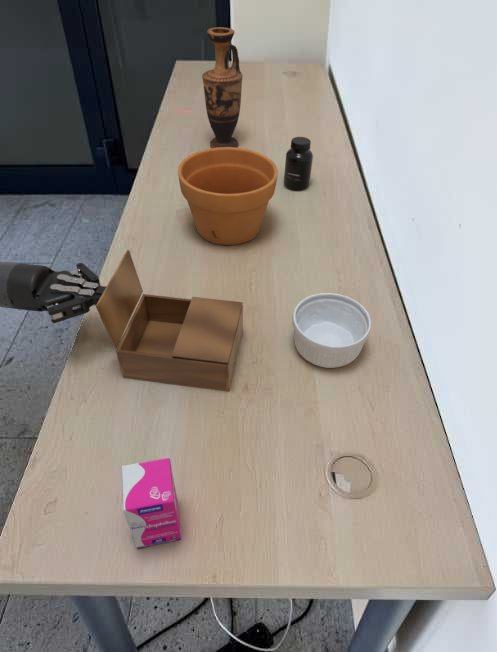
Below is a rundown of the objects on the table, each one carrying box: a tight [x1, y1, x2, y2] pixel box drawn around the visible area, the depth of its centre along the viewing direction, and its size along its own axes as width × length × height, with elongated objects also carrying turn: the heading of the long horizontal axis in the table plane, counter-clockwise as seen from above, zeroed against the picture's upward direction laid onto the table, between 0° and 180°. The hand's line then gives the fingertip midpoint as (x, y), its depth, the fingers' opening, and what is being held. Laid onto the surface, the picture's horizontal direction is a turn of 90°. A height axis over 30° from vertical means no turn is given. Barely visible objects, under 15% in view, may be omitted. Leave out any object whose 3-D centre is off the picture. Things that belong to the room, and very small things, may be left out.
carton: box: [115, 293, 244, 392], centre depth 82 cm, size 14×18×7 cm
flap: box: [95, 249, 144, 349], centre depth 78 cm, size 14×9×1 cm
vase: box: [201, 26, 243, 149], centre depth 134 cm, size 11×11×30 cm
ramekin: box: [291, 292, 372, 369], centre depth 84 cm, size 13×13×7 cm
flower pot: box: [177, 147, 279, 246], centre depth 108 cm, size 21×21×15 cm
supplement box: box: [121, 457, 182, 549], centre depth 59 cm, size 6×6×12 cm
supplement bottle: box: [283, 136, 314, 192], centre depth 123 cm, size 7×7×12 cm
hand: (120, 297), depth 78 cm, fingers closed
